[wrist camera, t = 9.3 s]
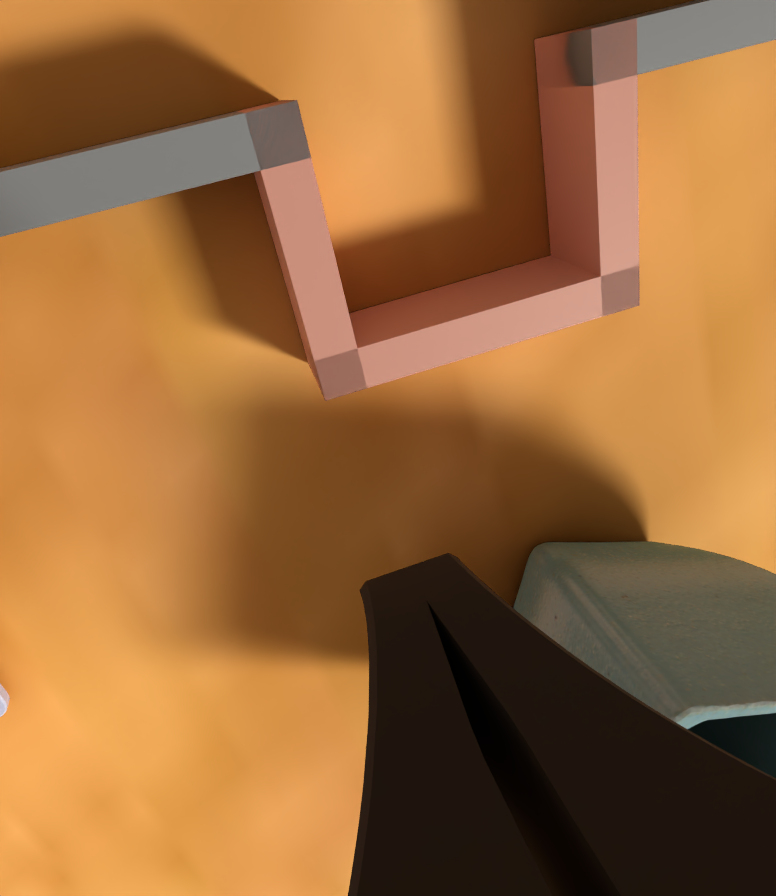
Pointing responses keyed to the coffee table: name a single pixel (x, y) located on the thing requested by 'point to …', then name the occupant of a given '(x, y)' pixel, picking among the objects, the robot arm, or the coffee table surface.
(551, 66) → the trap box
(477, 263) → the coffee table surface
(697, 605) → the flower pot
